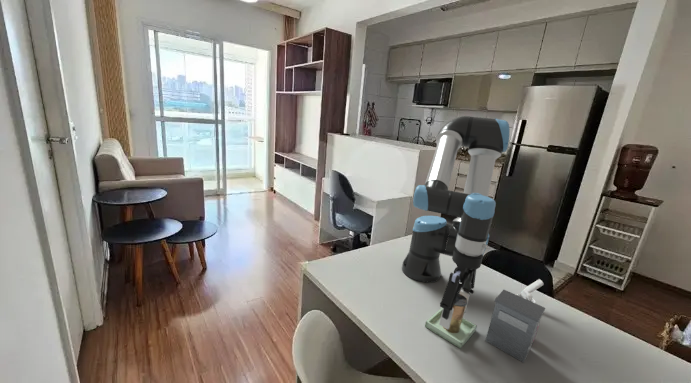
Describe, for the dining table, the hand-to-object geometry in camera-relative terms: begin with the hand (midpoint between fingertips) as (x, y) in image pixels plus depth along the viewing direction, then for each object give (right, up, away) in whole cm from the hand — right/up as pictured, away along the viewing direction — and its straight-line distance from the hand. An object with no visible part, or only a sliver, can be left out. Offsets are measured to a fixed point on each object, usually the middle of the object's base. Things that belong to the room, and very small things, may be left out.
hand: (452, 318), depth 87 cm
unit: (+14, -6, -3) cm, 16 cm away
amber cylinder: (0, -3, +1) cm, 3 cm away
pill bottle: (+22, -6, +1) cm, 22 cm away
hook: (+32, -3, +18) cm, 37 cm away
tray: (0, -4, +1) cm, 4 cm away
